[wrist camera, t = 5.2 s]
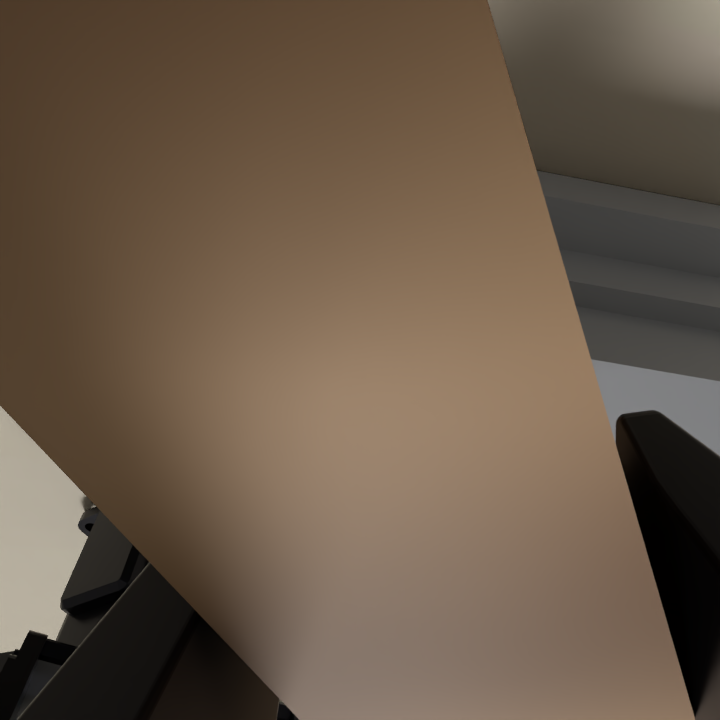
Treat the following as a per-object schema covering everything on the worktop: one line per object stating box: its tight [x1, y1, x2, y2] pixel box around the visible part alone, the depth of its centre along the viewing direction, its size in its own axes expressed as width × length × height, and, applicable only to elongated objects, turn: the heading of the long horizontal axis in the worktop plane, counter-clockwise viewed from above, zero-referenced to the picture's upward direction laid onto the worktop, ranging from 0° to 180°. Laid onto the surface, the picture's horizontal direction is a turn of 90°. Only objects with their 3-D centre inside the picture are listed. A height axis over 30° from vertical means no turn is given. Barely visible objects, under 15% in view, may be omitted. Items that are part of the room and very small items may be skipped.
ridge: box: [537, 171, 720, 456], centre depth 16 cm, size 16×6×5 cm, turn 80°
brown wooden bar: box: [0, 0, 695, 720], centre depth 7 cm, size 14×4×4 cm, turn 23°
